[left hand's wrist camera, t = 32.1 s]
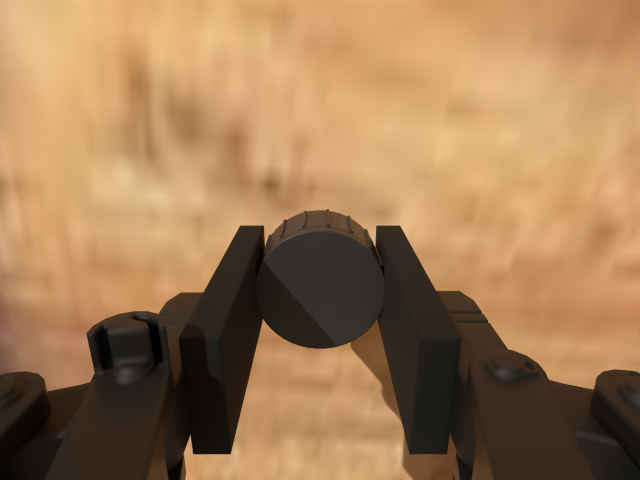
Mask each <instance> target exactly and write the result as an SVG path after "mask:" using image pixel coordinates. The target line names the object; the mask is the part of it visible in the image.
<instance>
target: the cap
mask: <svg viewBox="0 0 640 480" xmlns="http://www.w3.org/2000/svg"><path fill="white" fill-rule="evenodd" d="M382 268H383V264H382V261H381V258H380V255H379V252H378V249H377V247H375V246H374V244H373V241H372V240H371V238H370V236H369V234H368V231H367V229H365V230H364V229H363V228H362V227H361V226H360V225H359V224H358V223H357V222H355V221H354V220H352V219H351V217H350V216H348V217H347V216H345V215H342V214H340V213H336V212H332V211H329V209H326V211H323V210H316V211H308V212H307V211H304V213H301V214H298V215H296V216H293V217H292V218H290V219H288V220H286V219H285V220H284V221H283V223H282V224H281V225H280V226H279V227H278V228H277V229H276V230H275V231H274V233H273V234H272V235H271V234H270V235H269V237H268V240H267V243H266V246H265V249H264V252H263V256H262V259H261V262H260V265H259V268H258V271H257V275H256V293H257V307H258V310H259V312H260V314H261V316H262V318H263V319H264V321H265V322H266V324H267V325H268V326H269V327H270V328H271V329H272V330H273V331H274V332H275V333H276V334H278V335H279V336H280V337H282V338H283V339H285V340H287V341H289V342H291V343H294V344H296V345H299V346H303V347H307V348H315V349H325V348H333V347H337V346H341V345H344V344H347V343H349V342H351V341H353V340H355V339H357V338H358V337H360V336H361V335H363V334H364V333H365V332H366V331H368V329H369V328H370V327H371V326H372V325H373V324H374V323H375V321H376V320H377V318H378V317H379V315H380V313H381V311H382V308H383V298H384V280H385V278H384V273H383V270H382Z"/></svg>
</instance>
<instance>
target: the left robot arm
mask: <svg viewBox="0 0 640 480" xmlns="http://www.w3.org/2000/svg"><path fill="white" fill-rule="evenodd" d="M376 247H377V249H378V252H379V255H380V258H381V261H382V264H383V268H382V270H383V273H384V278H385V280H384V298H383V308H382V311H381V313H380V315H379V317H378V318H377V320H378V324H379V328H380V332H381V336H382V341H383V345H384V349H385V353H386V357H387V362H388V366H389V370H390V374H391V378H392V382H393V387H394V391H395V395H396V399H397V403H398V407H399V412H400V416H401V420H402V424H403V428H404V432H405V437H406V441H407V445H408V449H409V453H410V454H447V450H448V443H449V435H450V434H451V437H452V439H453V442H454V445H455V447H456V450H457V453H456V461H455V468H454V475H453V480H640V373H638V372H635V371H627V370H609V371H604V372H602V373H601V374H600V375H599V376H598V377H597V378H596V382H595V386H594V390H592V389H587V388H582V387H577V386H572V385H567V384H562V383H558V382H555V381H551V380H549V379H548V377H547V375H546V373H545V372H544V370H543V369H542V368H541V366H540V365H539V364H538V363H537V362H535V361H534V360H532V359H531V358H529V357H528V356H526V355H523V354H521V353H518V352H516V351H513V350H508V349H507V347H506V346H505V344H504V343H503V342H502V340H501V339H500V337H499V336H498V334H497V333H496V332H495V330H494V329H493V327H492V326H491V324H490V323H488V320H487V319H486V317H485V316H484V314H482V313H481V310H480V309H479V307H478V306H477V304H476V303H475V302H474V300H472V299H471V298H469V297H468V296H466V295H464V294H463V293H461V292H460V291H436V290H435V288H434V287H433V285H432V283H431V281H430V279H429V278H428V276H427V274H426V272H425V270H424V268H423V267H422V265H421V263H420V261H419V259H418V258H417V256H416V254H415V252H414V250H413V248H412V247H411V245H410V243H409V241H408V239H407V238H406V236H405V234H404V232H403V230H402V229H401V227H400V226H376ZM264 249H265V241H264V226H240V227H239V229H238V231H237V233H236V235H235V236H234V238H233V240H232V242H231V244H230V245H229V247H228V249H227V251H226V253H225V254H224V256H223V258H222V260H221V262H220V264H219V265H218V267H217V269H216V271H215V273H214V274H213V276H212V278H211V280H210V282H209V284H208V285H207V287H206V289H205V291H204V293H180V294H178V295H177V296H175V297H174V298H172V299H171V300H169V301H167V302H166V304H165V305H164V307H163V308H162V309H161V311H160V312H159V314H156V313H152V312H148V311H134V312H128V313H122V314H118V315H115V316H112V317H109V318H106V319H104V320H103V321H101V322H99V323H97V324H96V325H94V326H93V327H92V328H91V329H90V330H89V331H88V332H87V338H88V343H89V347H90V352H91V357H92V362H93V366H94V371H95V374H94V376H93V378H92V380H91V382H89V383H86V384H82V385H78V386H73V387H68V388H63V389H58V390H53V391H48V392H47V389H46V385H45V381H44V379H43V378H42V377H41V376H40V375H39V374H37V373H31V372H14V373H6V374H3V375H0V480H185V477H186V468H185V461H184V451H185V448H186V445H187V442H188V440H189V437H190V434H191V440H192V448H193V454H231V450H232V446H233V442H234V438H235V434H236V430H237V425H238V421H239V417H240V413H241V409H242V404H243V400H244V396H245V392H246V388H247V384H248V379H249V375H250V371H251V367H252V363H253V359H254V354H255V350H256V346H257V342H258V338H259V333H260V329H261V325H262V321H263V318H262V316H261V314H260V312H259V310H258V307H257V293H256V275H257V271H258V268H259V265H260V262H261V259H262V256H263V252H264Z"/></svg>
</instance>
